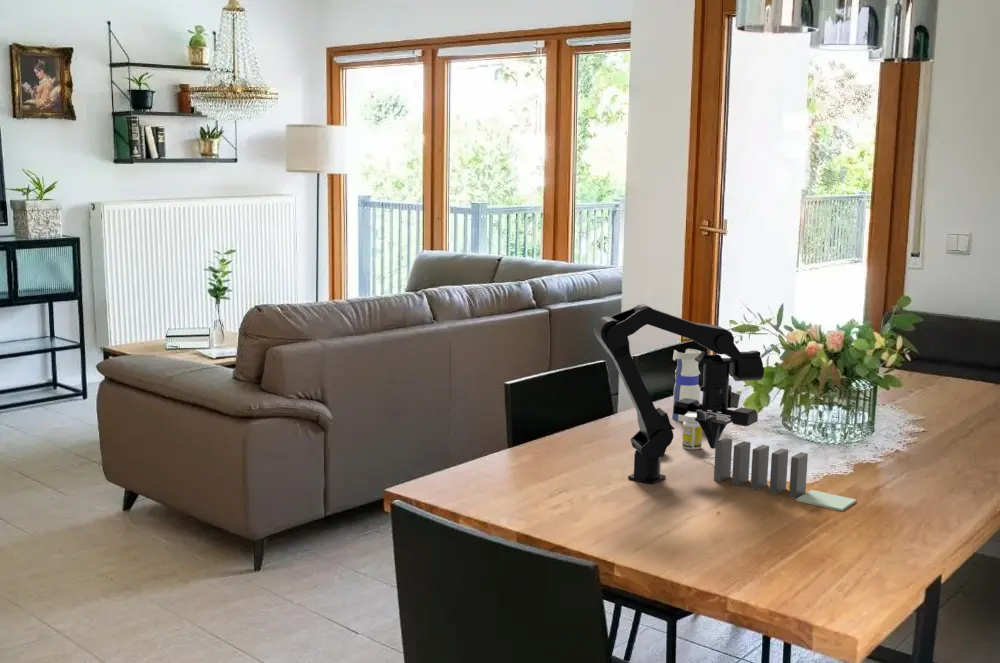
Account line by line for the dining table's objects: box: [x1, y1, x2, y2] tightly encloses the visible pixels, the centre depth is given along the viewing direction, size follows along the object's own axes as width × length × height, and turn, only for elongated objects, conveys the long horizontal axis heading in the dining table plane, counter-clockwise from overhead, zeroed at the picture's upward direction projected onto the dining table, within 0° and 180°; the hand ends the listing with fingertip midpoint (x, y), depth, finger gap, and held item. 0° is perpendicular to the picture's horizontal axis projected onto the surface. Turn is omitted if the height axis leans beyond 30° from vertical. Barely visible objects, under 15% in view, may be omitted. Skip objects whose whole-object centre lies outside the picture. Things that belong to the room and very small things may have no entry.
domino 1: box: [713, 437, 733, 483], centre depth 237 cm, size 2×5×9 cm, turn 141°
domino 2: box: [731, 440, 751, 487], centre depth 234 cm, size 2×5×9 cm, turn 141°
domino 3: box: [750, 444, 770, 491], centre depth 231 cm, size 2×5×9 cm, turn 141°
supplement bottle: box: [682, 413, 703, 451], centre depth 262 cm, size 5×5×8 cm
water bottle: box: [671, 336, 702, 423], centre depth 290 cm, size 8×8×25 cm
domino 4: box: [769, 447, 789, 495], centre depth 229 cm, size 2×5×9 cm, turn 141°
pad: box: [795, 489, 857, 512], centre depth 223 cm, size 8×10×1 cm
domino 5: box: [788, 451, 809, 500], centre depth 226 cm, size 2×5×9 cm, turn 141°
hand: (713, 448), depth 238 cm, fingers closed
